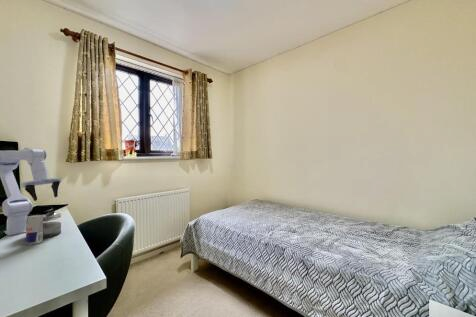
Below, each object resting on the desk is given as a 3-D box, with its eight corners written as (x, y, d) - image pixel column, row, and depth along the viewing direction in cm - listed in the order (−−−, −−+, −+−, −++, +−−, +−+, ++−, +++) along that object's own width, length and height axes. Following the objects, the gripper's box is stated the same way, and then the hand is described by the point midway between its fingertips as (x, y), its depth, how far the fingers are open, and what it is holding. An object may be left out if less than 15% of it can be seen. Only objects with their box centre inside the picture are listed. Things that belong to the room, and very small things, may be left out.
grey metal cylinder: (22, 236, 105) (22, 226, 106) (55, 229, 116) (55, 220, 116) (30, 241, 98) (30, 230, 98) (65, 233, 109) (65, 224, 109)
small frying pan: (21, 226, 106) (21, 224, 106) (55, 220, 117) (55, 218, 117) (33, 216, 96) (32, 214, 97) (69, 211, 108) (68, 208, 108)
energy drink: (23, 244, 96) (24, 216, 96) (39, 240, 101) (39, 214, 101) (29, 246, 93) (29, 218, 94) (44, 242, 98) (45, 215, 98)
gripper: (21, 171, 98) (28, 199, 96) (60, 167, 110) (67, 192, 108) (17, 176, 102) (24, 204, 100) (56, 172, 114) (62, 196, 112)
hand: (46, 198), depth 104 cm, fingers open, 7 cm apart
